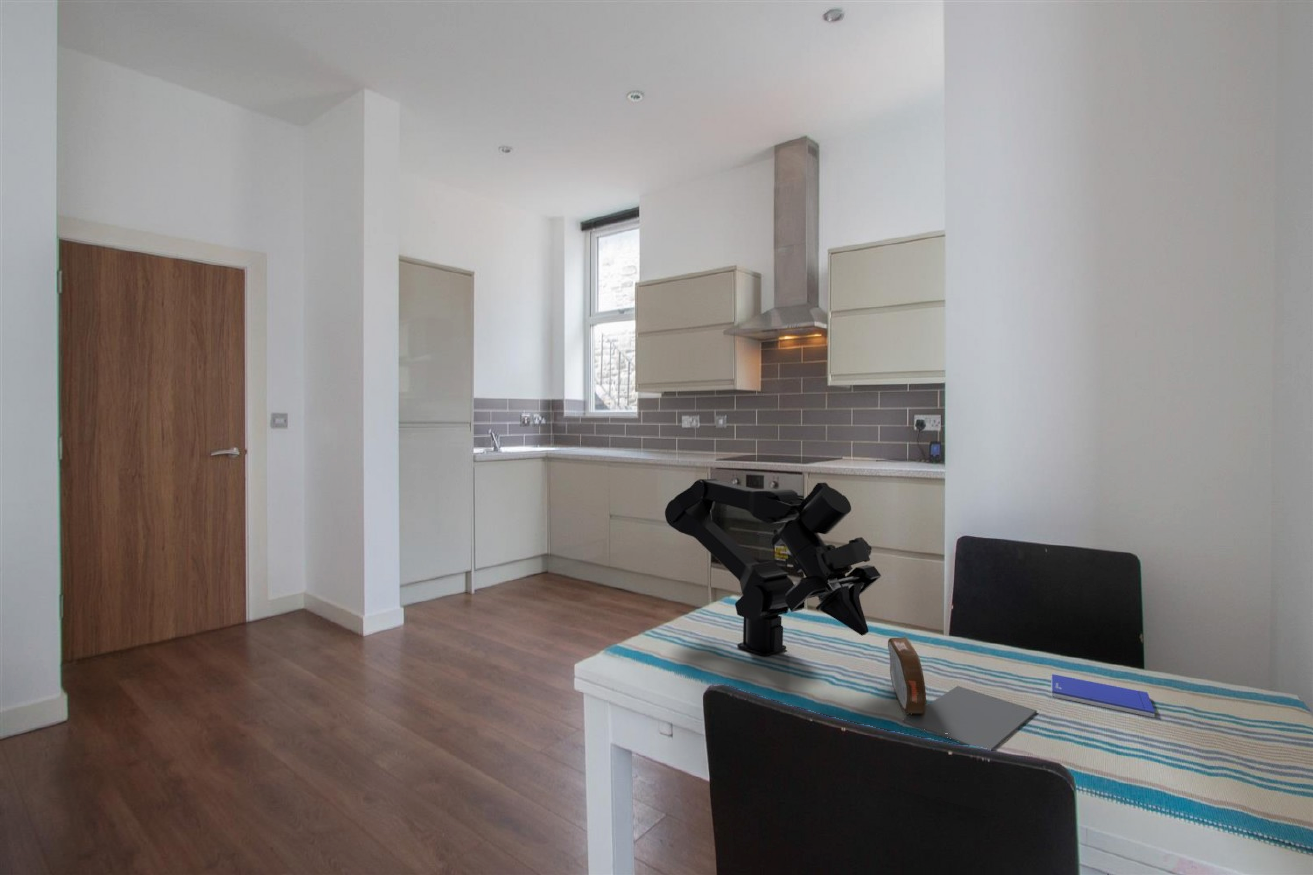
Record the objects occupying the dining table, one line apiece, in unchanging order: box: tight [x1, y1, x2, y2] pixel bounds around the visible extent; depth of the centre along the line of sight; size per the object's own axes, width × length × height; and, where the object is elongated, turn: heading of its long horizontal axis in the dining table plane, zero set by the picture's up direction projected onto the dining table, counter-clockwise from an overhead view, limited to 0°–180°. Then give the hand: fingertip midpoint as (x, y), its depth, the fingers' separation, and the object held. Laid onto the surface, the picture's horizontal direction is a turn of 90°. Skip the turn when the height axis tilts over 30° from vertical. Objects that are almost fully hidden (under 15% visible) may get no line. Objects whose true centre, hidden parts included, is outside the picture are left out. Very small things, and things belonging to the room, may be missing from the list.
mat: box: [902, 685, 1038, 751], centre depth 88 cm, size 11×18×1 cm, turn 132°
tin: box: [887, 636, 927, 715], centre depth 92 cm, size 15×3×8 cm, turn 168°
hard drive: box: [1050, 673, 1156, 718], centre depth 96 cm, size 2×8×12 cm
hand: (865, 633), depth 97 cm, fingers closed
